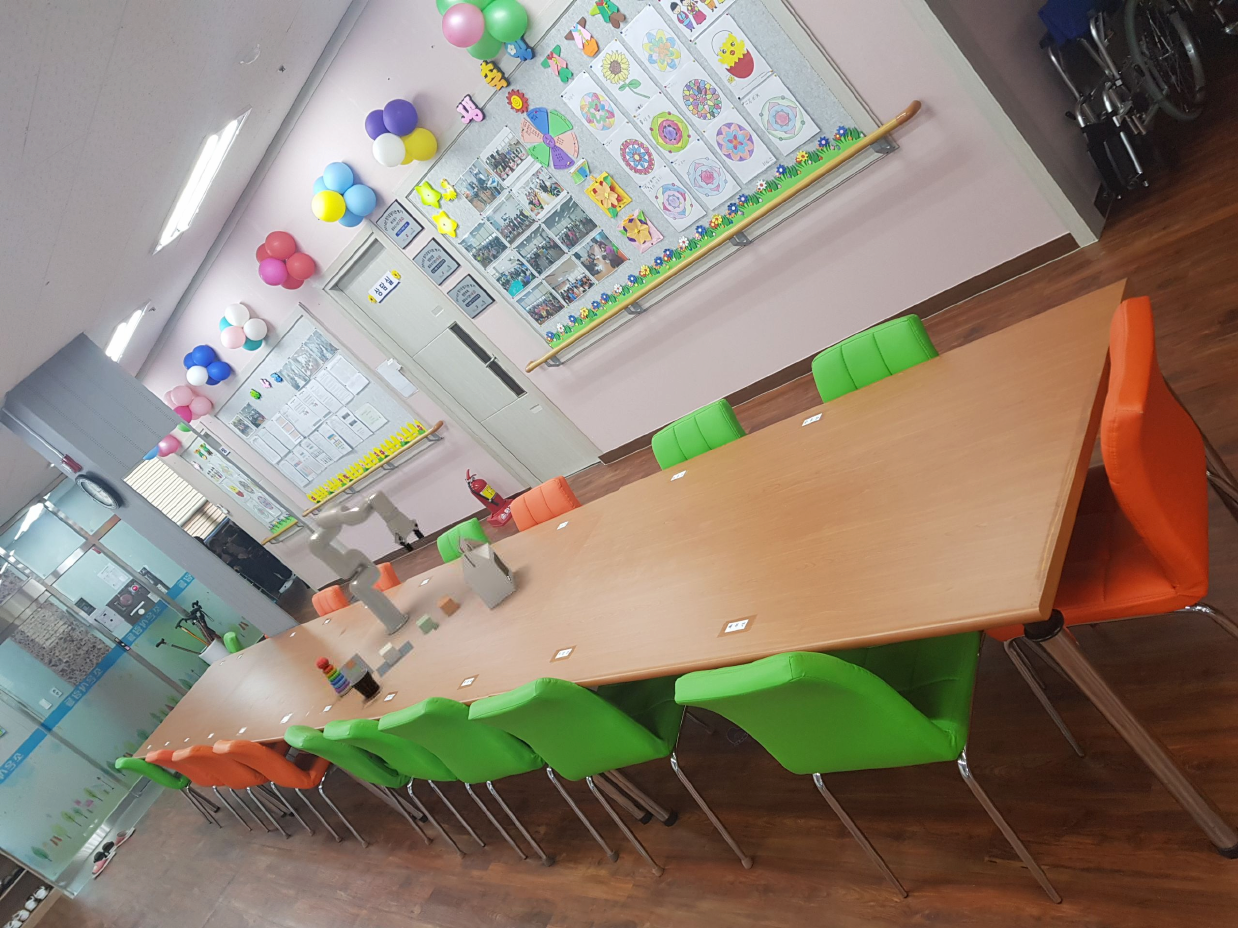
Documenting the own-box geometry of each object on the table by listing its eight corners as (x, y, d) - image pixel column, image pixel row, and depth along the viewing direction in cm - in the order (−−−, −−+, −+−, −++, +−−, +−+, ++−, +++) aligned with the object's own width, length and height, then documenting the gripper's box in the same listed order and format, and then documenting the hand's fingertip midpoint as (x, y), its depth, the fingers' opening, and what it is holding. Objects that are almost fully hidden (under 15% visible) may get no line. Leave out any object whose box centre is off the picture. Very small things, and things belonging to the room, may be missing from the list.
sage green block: (423, 632, 361) (415, 622, 359) (434, 623, 363) (425, 613, 361) (427, 636, 353) (418, 626, 352) (438, 626, 355) (429, 616, 354)
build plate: (377, 671, 356) (375, 669, 355) (410, 642, 361) (408, 640, 361) (382, 679, 343) (380, 677, 343) (416, 649, 349) (414, 647, 348)
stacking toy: (349, 692, 356) (319, 662, 351) (336, 699, 359) (307, 669, 354) (357, 680, 363) (328, 650, 358) (345, 687, 366) (316, 657, 361)
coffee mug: (368, 693, 339) (352, 677, 336) (385, 682, 338) (369, 665, 335) (362, 710, 328) (345, 692, 325) (379, 698, 327) (362, 680, 324)
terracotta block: (444, 613, 364) (436, 603, 363) (455, 604, 366) (446, 594, 365) (448, 617, 357) (440, 607, 356) (459, 607, 359) (450, 597, 357)
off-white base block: (387, 661, 355) (378, 651, 353) (398, 651, 356) (389, 641, 355) (390, 665, 347) (381, 655, 346) (401, 655, 349) (392, 645, 347)
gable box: (488, 591, 353) (447, 542, 345) (513, 572, 353) (472, 523, 345) (490, 610, 331) (446, 559, 324) (516, 590, 332) (472, 539, 324)
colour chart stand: (356, 688, 355) (337, 668, 352) (374, 671, 358) (355, 651, 355) (357, 690, 351) (338, 670, 348) (376, 673, 355) (357, 653, 351)
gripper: (395, 507, 367) (420, 536, 371) (376, 529, 352) (402, 558, 357) (406, 501, 363) (431, 530, 368) (387, 523, 349) (413, 552, 353)
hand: (416, 544), depth 362 cm, fingers open, 9 cm apart
